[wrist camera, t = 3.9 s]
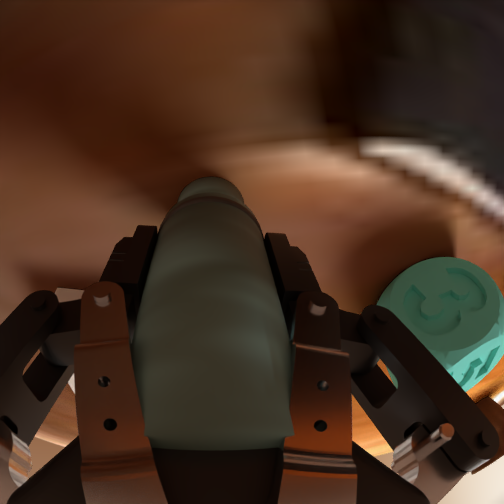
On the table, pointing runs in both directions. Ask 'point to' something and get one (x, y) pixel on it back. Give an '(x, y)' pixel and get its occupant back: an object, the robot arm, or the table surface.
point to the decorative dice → (451, 315)
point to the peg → (212, 330)
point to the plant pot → (499, 419)
